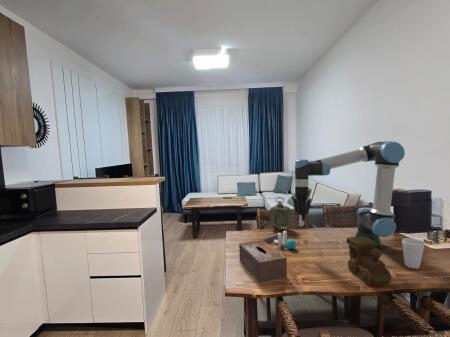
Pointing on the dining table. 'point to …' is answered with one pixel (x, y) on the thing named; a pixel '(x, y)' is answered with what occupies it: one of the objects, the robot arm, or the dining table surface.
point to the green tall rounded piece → (280, 215)
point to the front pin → (282, 243)
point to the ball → (291, 244)
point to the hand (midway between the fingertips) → (301, 225)
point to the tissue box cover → (263, 260)
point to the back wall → (270, 238)
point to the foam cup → (412, 252)
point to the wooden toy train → (367, 261)
